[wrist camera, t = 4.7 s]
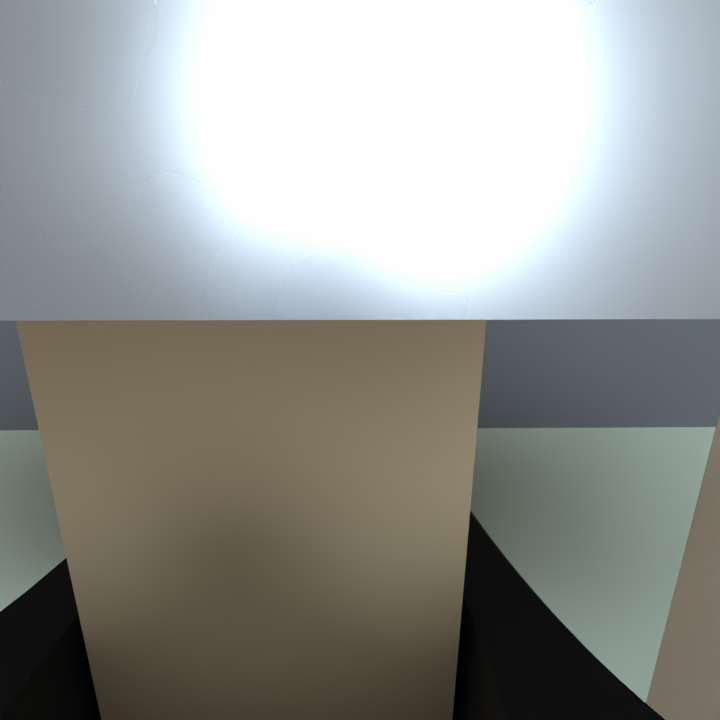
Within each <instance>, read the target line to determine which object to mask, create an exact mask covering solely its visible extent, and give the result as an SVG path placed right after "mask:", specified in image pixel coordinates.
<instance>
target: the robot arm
mask: <svg viewBox="0 0 720 720" xmlns="http://www.w3.org/2000/svg"><path fill="white" fill-rule="evenodd" d="M0 720H101V716H100V712H99V707H98V702H97V698H96V693H95V688H94V684H93V679H92V674H91V670H90V665H89V660H88V656H87V651H86V646H85V642H84V637H83V633H82V628H81V623H80V619H79V614H78V609H77V605H76V600H75V595H74V591H73V586H72V581H71V577H70V572H69V567H68V563H67V558H65V559H64V560H63V561H62V562H61V563H59V564H58V565H57V566H56V567H55V568H53V569H52V570H51V571H50V572H49V573H48V574H46V575H45V576H44V577H43V578H42V579H40V580H39V581H38V582H37V583H36V584H34V585H33V586H32V587H31V588H30V589H28V590H27V591H26V592H25V593H24V594H22V595H21V596H20V597H18V598H17V599H16V600H14V601H13V602H12V603H11V604H9V605H8V606H7V607H5V608H4V609H3V610H2V611H0ZM452 720H665V719H664V718H662V717H661V716H660V715H659V714H658V713H657V712H655V711H654V710H653V709H652V708H651V707H649V706H648V705H647V704H646V703H645V702H644V701H643V700H641V699H640V698H639V697H638V696H637V695H636V694H635V693H634V692H633V691H631V690H630V689H629V688H628V687H627V686H626V685H625V684H624V683H623V682H622V681H620V680H619V679H618V678H617V677H616V676H615V675H614V674H613V673H612V672H611V671H610V670H609V669H608V668H607V667H605V666H604V665H603V664H602V663H601V662H600V661H599V660H598V659H597V658H596V657H595V656H594V655H593V654H592V653H591V652H590V651H589V650H588V649H587V648H586V647H585V646H584V645H583V644H582V643H581V642H580V641H579V640H578V639H577V638H576V636H575V635H574V634H573V633H572V632H571V631H570V630H569V629H568V628H567V627H566V626H565V625H564V624H563V623H562V622H561V621H560V620H559V619H558V618H557V616H556V615H555V614H554V613H553V612H552V611H551V610H550V609H549V608H548V606H547V605H546V604H545V603H544V602H543V601H542V600H541V599H540V597H539V596H538V595H537V594H536V593H535V592H534V590H533V589H532V588H531V587H530V586H529V585H528V583H527V582H526V581H525V580H524V579H523V577H522V576H521V575H520V574H519V573H518V572H517V570H516V569H515V568H514V567H513V565H512V564H511V563H510V562H509V561H508V559H507V558H506V557H505V555H504V554H503V553H502V552H501V550H500V549H499V548H498V546H497V545H496V544H495V543H494V541H493V540H492V539H491V537H490V536H489V535H488V533H487V532H486V531H485V529H484V528H483V527H482V525H481V524H480V523H479V521H478V520H477V518H476V517H475V516H474V514H473V513H472V511H471V510H470V519H469V530H468V542H467V554H466V566H465V577H464V589H463V601H462V613H461V624H460V636H459V648H458V660H457V671H456V683H455V695H454V707H453V719H452Z"/></svg>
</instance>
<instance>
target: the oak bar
mask: <svg viewBox="0 0 720 720" xmlns="http://www.w3.org/2000/svg"><path fill="white" fill-rule="evenodd" d="M16 325H17V330H18V335H19V339H20V344H21V349H22V353H23V358H24V363H25V367H26V372H27V376H28V381H29V386H30V390H31V395H32V400H33V404H34V409H35V414H36V418H37V423H38V428H39V432H40V437H41V442H42V446H43V451H44V456H45V460H46V465H47V470H48V474H49V479H50V484H51V488H52V493H53V498H54V502H55V507H56V511H57V516H58V521H59V525H60V530H61V535H62V539H63V544H64V549H65V553H66V558H67V563H68V567H69V572H70V577H71V581H72V586H73V591H74V595H75V600H76V605H77V609H78V614H79V619H80V623H81V628H82V633H83V637H84V642H85V646H86V651H87V656H88V660H89V665H90V670H91V674H92V679H93V684H94V688H95V693H96V698H97V702H98V707H99V712H100V716H101V720H452V719H453V707H454V695H455V683H456V671H457V660H458V648H459V636H460V624H461V613H462V601H463V589H464V577H465V566H466V554H467V542H468V530H469V519H470V507H471V495H472V483H473V472H474V460H475V448H476V436H477V425H478V413H479V401H480V389H481V378H482V366H483V354H484V342H485V331H486V320H55V321H16Z"/></svg>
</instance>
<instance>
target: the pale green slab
mask: <svg viewBox="0 0 720 720" xmlns="http://www.w3.org/2000/svg"><path fill="white" fill-rule="evenodd" d="M719 413H720V319H536V320H486V331H485V342H484V354H483V366H482V378H481V389H480V401H479V413H478V425H477V436H476V448H475V460H474V472H473V483H472V495H471V507H470V510H471V511H472V513H473V514H474V516H475V517H476V518H477V520H478V521H479V523H480V524H481V525H482V527H483V528H484V529H485V531H486V532H487V533H488V535H489V536H490V537H491V539H492V540H493V541H494V543H495V544H496V545H497V546H498V548H499V549H500V550H501V552H502V553H503V554H504V555H505V557H506V558H507V559H508V561H509V562H510V563H511V564H512V565H513V567H514V568H515V569H516V570H517V572H518V573H519V574H520V575H521V576H522V577H523V579H524V580H525V581H526V582H527V583H528V585H529V586H530V587H531V588H532V589H533V590H534V592H535V593H536V594H537V595H538V596H539V597H540V599H541V600H542V601H543V602H544V603H545V604H546V605H547V606H548V608H549V609H550V610H551V611H552V612H553V613H554V614H555V615H556V616H557V618H558V619H559V620H560V621H561V622H562V623H563V624H564V625H565V626H566V627H567V628H568V629H569V630H570V631H571V632H572V633H573V634H574V635H575V636H576V638H577V639H578V640H579V641H580V642H581V643H582V644H583V645H584V646H585V647H586V648H587V649H588V650H589V651H590V652H591V653H592V654H593V655H594V656H595V657H596V658H597V659H598V660H599V661H600V662H601V663H602V664H603V665H604V666H605V667H607V668H608V669H609V670H610V671H611V672H612V673H613V674H614V675H615V676H616V677H617V678H618V679H619V680H620V681H622V682H623V683H624V684H625V685H626V686H627V687H628V688H629V689H630V690H631V691H633V692H634V693H635V694H636V695H637V696H638V697H639V698H640V699H641V700H643V701H644V702H645V703H646V700H647V697H648V693H649V689H650V685H651V681H652V677H653V673H654V669H655V665H656V661H657V657H658V653H659V649H660V645H661V641H662V637H663V633H664V629H665V626H666V622H667V618H668V614H669V610H670V606H671V602H672V598H673V594H674V590H675V586H676V582H677V578H678V574H679V570H680V566H681V562H682V559H683V555H684V551H685V547H686V543H687V539H688V535H689V531H690V527H691V523H692V519H693V515H694V511H695V507H696V503H697V499H698V495H699V491H700V488H701V484H702V480H703V476H704V472H705V468H706V464H707V460H708V456H709V452H710V448H711V444H712V440H713V436H714V432H715V428H716V424H717V421H718V417H719ZM65 558H66V553H65V549H64V544H63V539H62V535H61V530H60V525H59V521H58V516H57V511H56V507H55V502H54V498H53V493H52V488H51V484H50V479H49V474H48V470H47V465H46V460H45V456H44V451H43V446H42V442H41V437H40V432H39V428H38V423H37V418H36V414H35V409H34V404H33V400H32V395H31V390H30V386H29V381H28V376H27V372H26V367H25V363H24V358H23V353H22V349H21V344H20V339H19V335H18V330H17V325H16V321H0V611H2V610H3V609H4V608H5V607H7V606H8V605H9V604H11V603H12V602H13V601H14V600H16V599H17V598H18V597H20V596H21V595H22V594H24V593H25V592H26V591H27V590H28V589H30V588H31V587H32V586H33V585H34V584H36V583H37V582H38V581H39V580H40V579H42V578H43V577H44V576H45V575H46V574H48V573H49V572H50V571H51V570H52V569H53V568H55V567H56V566H57V565H58V564H59V563H61V562H62V561H63V560H64V559H65Z"/></svg>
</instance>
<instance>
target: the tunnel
mask: <svg viewBox="0 0 720 720" xmlns="http://www.w3.org/2000/svg"><path fill="white" fill-rule="evenodd" d="M536 319H720V0H0V321H55V320H536Z"/></svg>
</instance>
